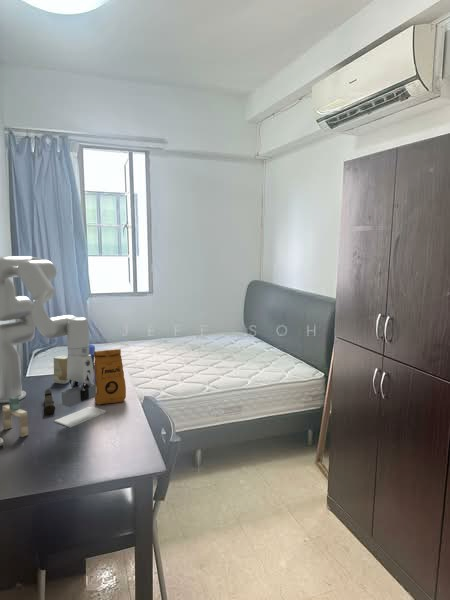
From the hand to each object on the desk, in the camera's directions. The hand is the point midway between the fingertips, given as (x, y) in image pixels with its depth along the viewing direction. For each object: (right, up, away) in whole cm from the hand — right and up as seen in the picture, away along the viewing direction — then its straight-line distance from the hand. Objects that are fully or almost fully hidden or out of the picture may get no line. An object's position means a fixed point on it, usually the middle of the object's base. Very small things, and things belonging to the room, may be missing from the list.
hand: (80, 398), depth 151 cm
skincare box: (-23, -2, +40) cm, 46 cm away
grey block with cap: (0, -1, 0) cm, 1 cm away
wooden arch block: (-18, -9, -12) cm, 23 cm away
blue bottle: (-10, -3, +33) cm, 34 cm away
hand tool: (-17, -6, +11) cm, 21 cm away
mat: (0, -7, +1) cm, 7 cm away
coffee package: (+6, -6, +17) cm, 19 cm away
